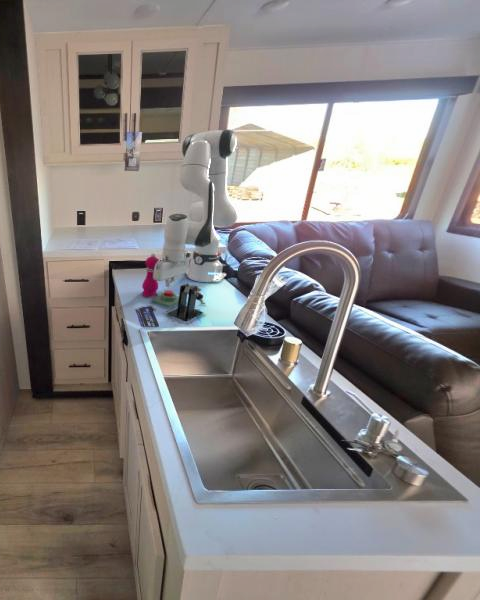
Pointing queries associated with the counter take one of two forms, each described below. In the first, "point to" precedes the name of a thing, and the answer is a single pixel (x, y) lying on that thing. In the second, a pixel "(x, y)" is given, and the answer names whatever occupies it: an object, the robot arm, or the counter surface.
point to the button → (168, 293)
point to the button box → (166, 300)
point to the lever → (199, 295)
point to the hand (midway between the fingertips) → (169, 286)
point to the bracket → (189, 310)
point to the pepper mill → (150, 277)
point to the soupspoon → (197, 291)
